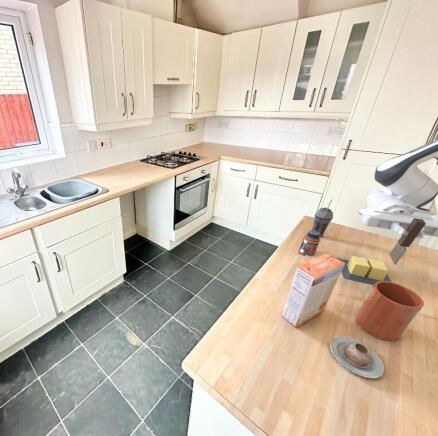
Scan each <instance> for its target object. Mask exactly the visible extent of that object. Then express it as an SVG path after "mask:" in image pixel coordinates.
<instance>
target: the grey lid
mask: <svg viewBox="0 0 438 436" xmlns="http://www.w3.org/2000/svg"><path fill="white" fill-rule="evenodd" d="M329 348H330V351H331V353H332V354H333V356H334V358H335V359H336V360H337V361H338V362H339V364H341V365H342V366H343V367H344V368H345V369H347V370H348V371H350V372H352V373H353V374H354V375H356V376H358V377H361V378H364V379H378V378H380V377H382V376H383V375H384V374H385V365H384V362H383V360H382V359H381V357H380V356H379V355H378V354H377V352H375V350H373V348H371V346H368V345H367V344H366V343H364V342H362V341H361V340H358V339H356V338H354V337H352V336H348V335H336V336H334V337H332V338H331V339H330V341H329Z"/></svg>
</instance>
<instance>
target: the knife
mask: <svg viewBox="0 0 438 436" xmlns="http://www.w3.org/2000/svg"><path fill="white" fill-rule="evenodd" d="M425 224H426V223H425V221H424V220H423V219H417V218H414V219H413V220H412V222H411V223H410V225H409V226H408V227H407V229H408V230H409V233H408V235H407V236H405V235H400V237H399V239H398V240H397V242H396V243H395V244H394V247H393V248H392V249H391V251H390V252H389V254H388V256H389V257H390V259H391V261H392V263H393V265H394V266H396V265H397V264H398V262H399V261H400V260H401V258H402V257H403V256H404V254H405V253H406V252H407V250H408V249H407V248H410V246H411V245H412V244H413V242H414V241H415V239H416V238H417V235H418V234H419V233H420V231H421V230H422V229H423V227H424V226H425Z"/></svg>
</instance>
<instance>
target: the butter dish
mask: <svg viewBox="0 0 438 436" xmlns="http://www.w3.org/2000/svg"><path fill="white" fill-rule="evenodd" d="M336 259H338V260H340V261H342V262H344V263H345V265H344V267H343V269H342V272H341V275H342V278H343V279H344V280H349V281H353V282H357V283H362V284H367V285H369V286H370V285H371V286H374V284H375V283H376V282H378V281H380V280H376V279H371V278H368V276H367V274H366V275H365V277H362V276H358V275H353V274H350V271H349V269H348V266H347V264H348V262H349V260H350V259H346V258H345V259H344V258H339V257H336ZM383 281H389V282H393V281H392V280H391V278H390V276H389V274H387V275H386V276H385V278H384V280H383Z"/></svg>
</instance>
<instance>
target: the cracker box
mask: <svg viewBox="0 0 438 436" xmlns="http://www.w3.org/2000/svg"><path fill="white" fill-rule="evenodd" d="M344 265H345V263H344V262H342V261H340V260H338V259H337V257H334V256H332V255H330V254H328V253H324V254H322V255H320V256H318V257H316V258H314V259H311V260H309V261H307V262H304V263H302V264H300V265H298V266H296V268H295V272H294V275H293V278H292V280H291V284H290V286H289V290H288V293H287V295H286V297H285V301H284V305H283V308H282V310H281V313H280V316H281V317H283V318H284V319H285V320H286V321H287V322H288V323H289V324H291V325H292V326H293V327H294V328H298V327H299V326H302V325H303V324H305V323H307V322H308V321H310V320H311V319H314V318H315V317H317V316H319V315H320V314H322V313H324V311H325V309H326V307H327V305H328V302H329V300H330V298H331V296H332V294H333V291H334V289H335V287H336V285H337V283H338V280H339V279H340V276H341V275H342V269H343V267H344Z"/></svg>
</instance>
